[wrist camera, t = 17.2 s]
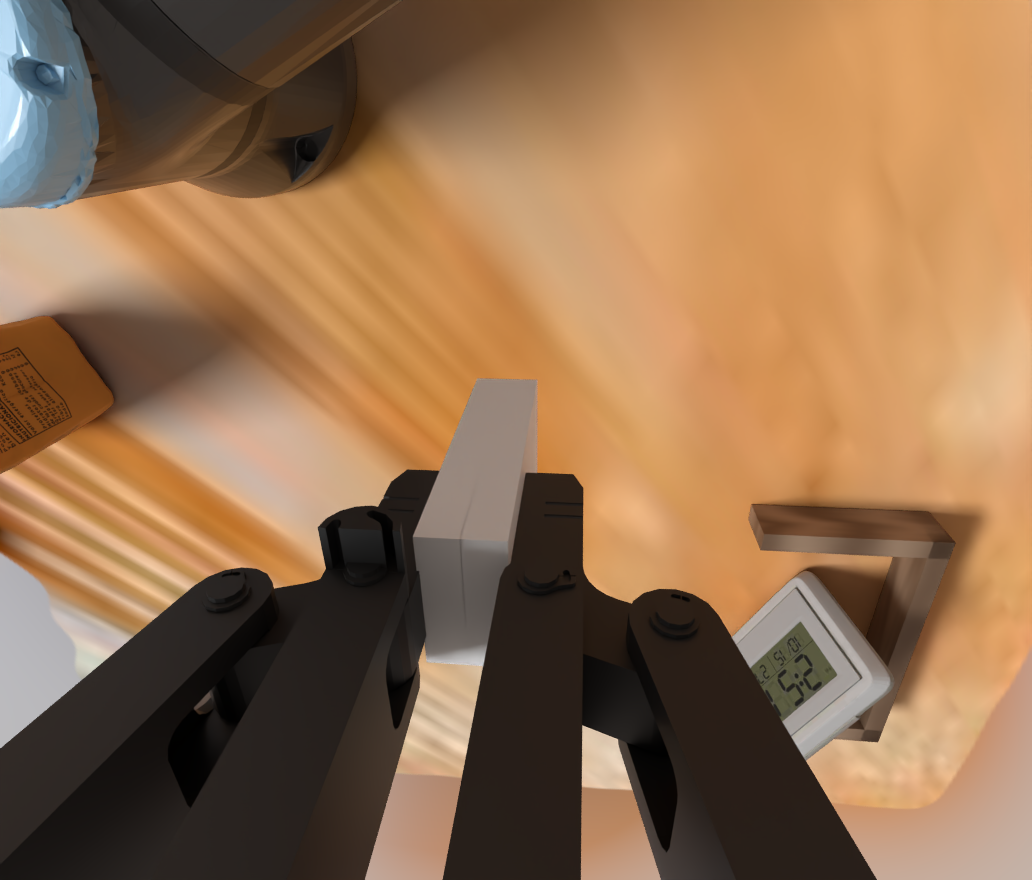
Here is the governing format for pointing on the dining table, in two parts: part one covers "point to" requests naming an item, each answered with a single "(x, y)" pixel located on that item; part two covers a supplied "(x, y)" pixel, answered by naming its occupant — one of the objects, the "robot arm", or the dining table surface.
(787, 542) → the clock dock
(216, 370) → the dining table surface
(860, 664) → the digital clock
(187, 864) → the robot arm
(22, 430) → the coffee package
